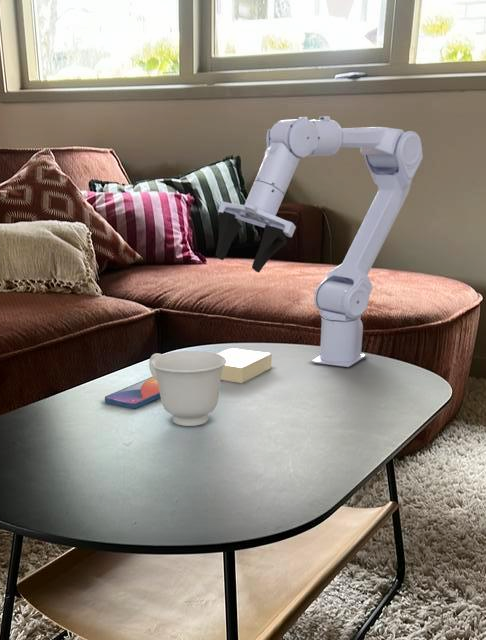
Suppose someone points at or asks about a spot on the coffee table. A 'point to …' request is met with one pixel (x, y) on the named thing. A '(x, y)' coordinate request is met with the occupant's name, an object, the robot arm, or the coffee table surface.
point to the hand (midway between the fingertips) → (237, 264)
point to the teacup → (188, 384)
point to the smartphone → (135, 394)
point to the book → (244, 364)
